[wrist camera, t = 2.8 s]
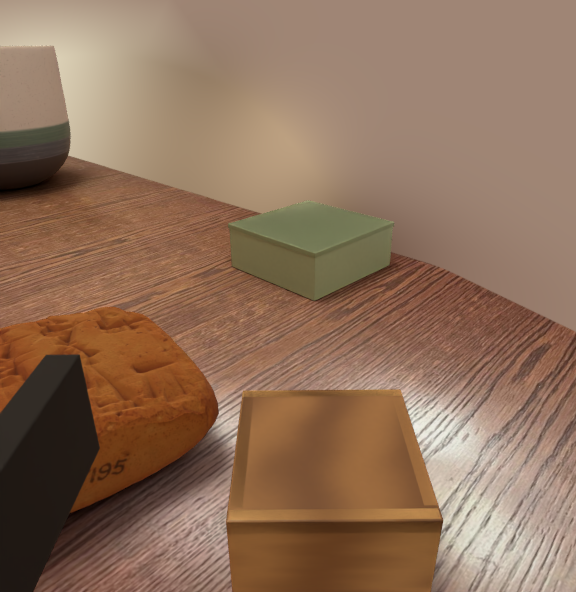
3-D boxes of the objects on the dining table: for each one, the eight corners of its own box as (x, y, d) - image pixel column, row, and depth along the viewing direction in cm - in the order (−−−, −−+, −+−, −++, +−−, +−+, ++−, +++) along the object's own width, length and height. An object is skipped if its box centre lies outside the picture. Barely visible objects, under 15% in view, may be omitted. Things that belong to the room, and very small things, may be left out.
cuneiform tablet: (-146, 653, 25) (-218, 540, 22) (-137, 453, 38) (-182, 361, 34) (241, 460, 37) (235, 366, 33) (149, 355, 49) (138, 279, 46)
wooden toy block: (388, 502, 33) (400, 388, 29) (421, 650, 25) (443, 520, 21) (249, 503, 33) (242, 390, 29) (237, 651, 25) (225, 522, 21)
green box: (390, 265, 69) (394, 222, 66) (314, 301, 59) (315, 253, 57) (307, 238, 79) (308, 200, 76) (230, 266, 69) (228, 223, 66)
